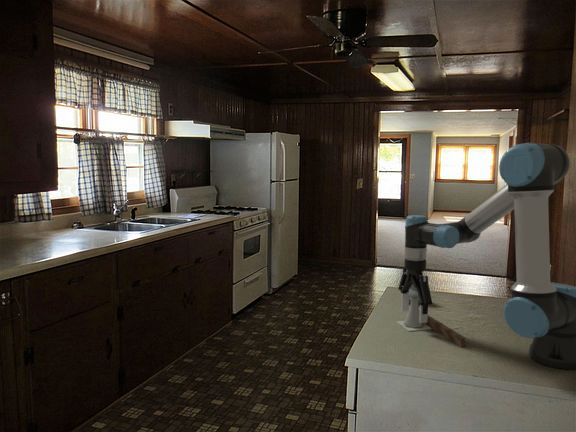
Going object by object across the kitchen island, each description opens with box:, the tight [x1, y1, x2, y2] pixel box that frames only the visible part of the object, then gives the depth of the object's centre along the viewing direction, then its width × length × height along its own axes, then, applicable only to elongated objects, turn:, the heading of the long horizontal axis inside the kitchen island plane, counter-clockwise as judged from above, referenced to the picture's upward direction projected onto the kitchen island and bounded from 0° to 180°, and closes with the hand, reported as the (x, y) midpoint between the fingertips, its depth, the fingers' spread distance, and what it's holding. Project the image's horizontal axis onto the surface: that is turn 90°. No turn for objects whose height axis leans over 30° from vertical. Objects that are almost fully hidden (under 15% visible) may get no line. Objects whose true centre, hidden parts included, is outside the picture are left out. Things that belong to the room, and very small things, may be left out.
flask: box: [403, 297, 424, 328], centre depth 178 cm, size 7×7×10 cm
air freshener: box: [409, 284, 424, 305], centre depth 208 cm, size 11×8×10 cm
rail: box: [424, 315, 466, 348], centre depth 172 cm, size 27×2×3 cm, turn 14°
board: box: [395, 320, 432, 332], centre depth 179 cm, size 10×9×1 cm
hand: (413, 316), depth 179 cm, fingers open, 13 cm apart
